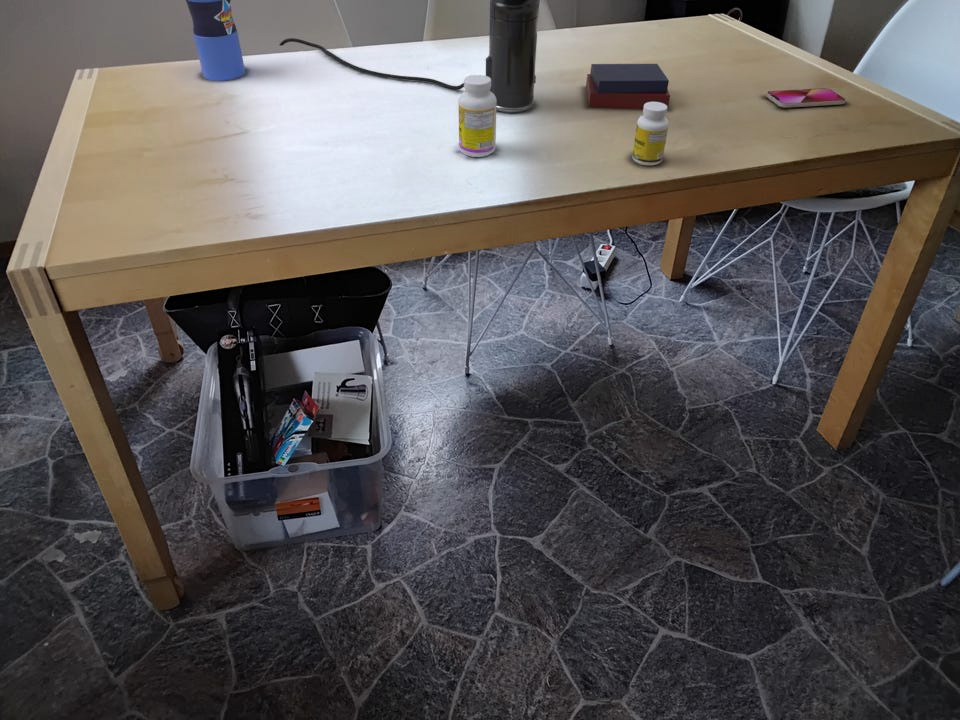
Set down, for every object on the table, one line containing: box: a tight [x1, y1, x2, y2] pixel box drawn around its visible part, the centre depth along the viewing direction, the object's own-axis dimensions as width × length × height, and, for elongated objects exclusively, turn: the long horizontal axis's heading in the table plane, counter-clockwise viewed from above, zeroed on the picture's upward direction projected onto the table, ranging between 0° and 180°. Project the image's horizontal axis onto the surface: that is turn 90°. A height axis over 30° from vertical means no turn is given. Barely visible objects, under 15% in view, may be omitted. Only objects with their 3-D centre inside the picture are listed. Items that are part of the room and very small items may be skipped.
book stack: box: [585, 63, 671, 111], centre depth 150 cm, size 16×11×6 cm
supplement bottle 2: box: [631, 102, 670, 166], centre depth 127 cm, size 5×5×10 cm
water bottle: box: [185, 0, 246, 82], centre depth 152 cm, size 9×9×25 cm
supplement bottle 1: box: [458, 74, 497, 158], centre depth 128 cm, size 7×7×13 cm
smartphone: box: [765, 87, 847, 109], centre depth 152 cm, size 7×1×15 cm
